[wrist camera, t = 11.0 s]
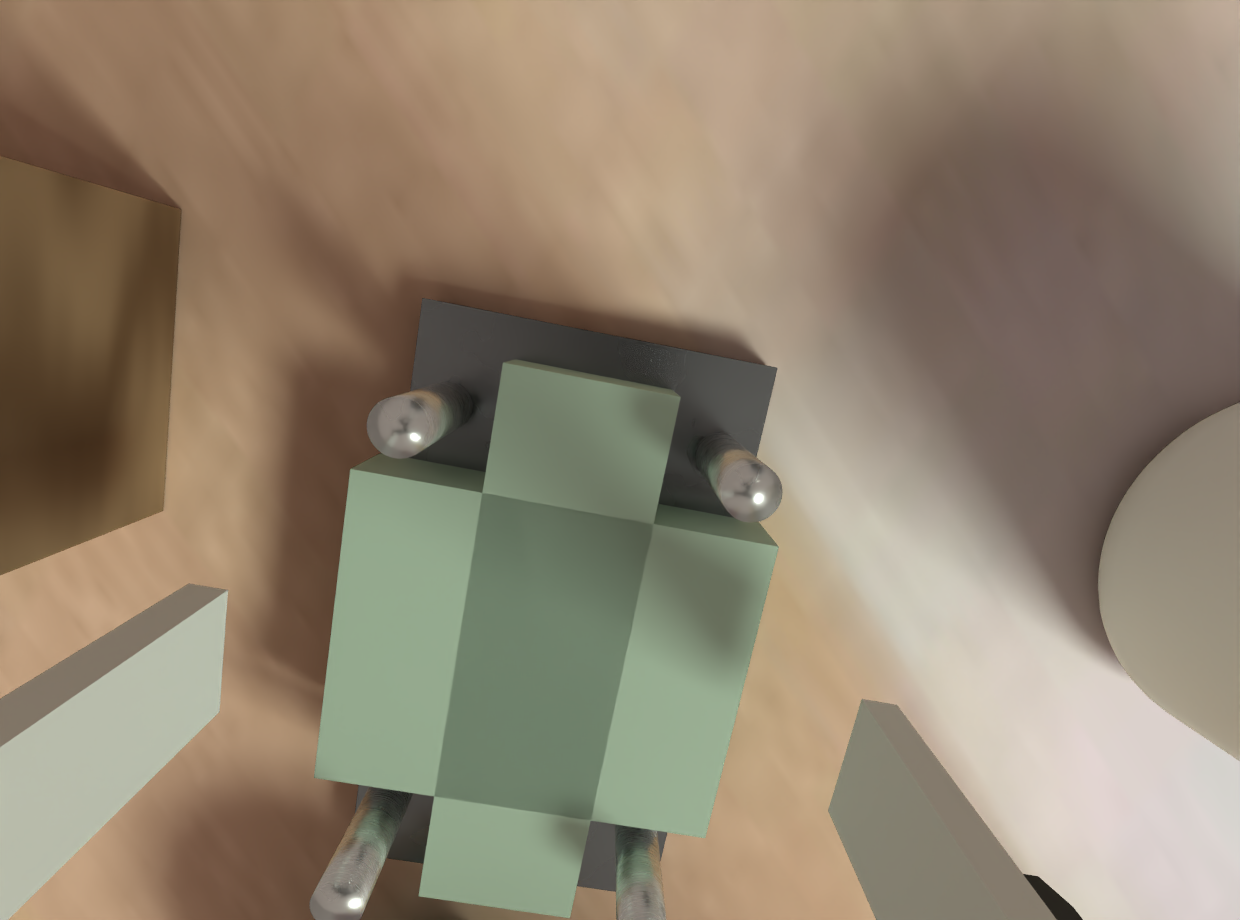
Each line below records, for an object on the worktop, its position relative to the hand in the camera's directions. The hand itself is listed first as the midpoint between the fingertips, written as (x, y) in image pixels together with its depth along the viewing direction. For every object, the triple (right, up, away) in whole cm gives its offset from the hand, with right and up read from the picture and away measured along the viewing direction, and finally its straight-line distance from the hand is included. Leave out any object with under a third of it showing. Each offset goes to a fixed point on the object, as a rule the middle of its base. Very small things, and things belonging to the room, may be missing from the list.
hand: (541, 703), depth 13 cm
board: (0, 0, +4) cm, 4 cm away
